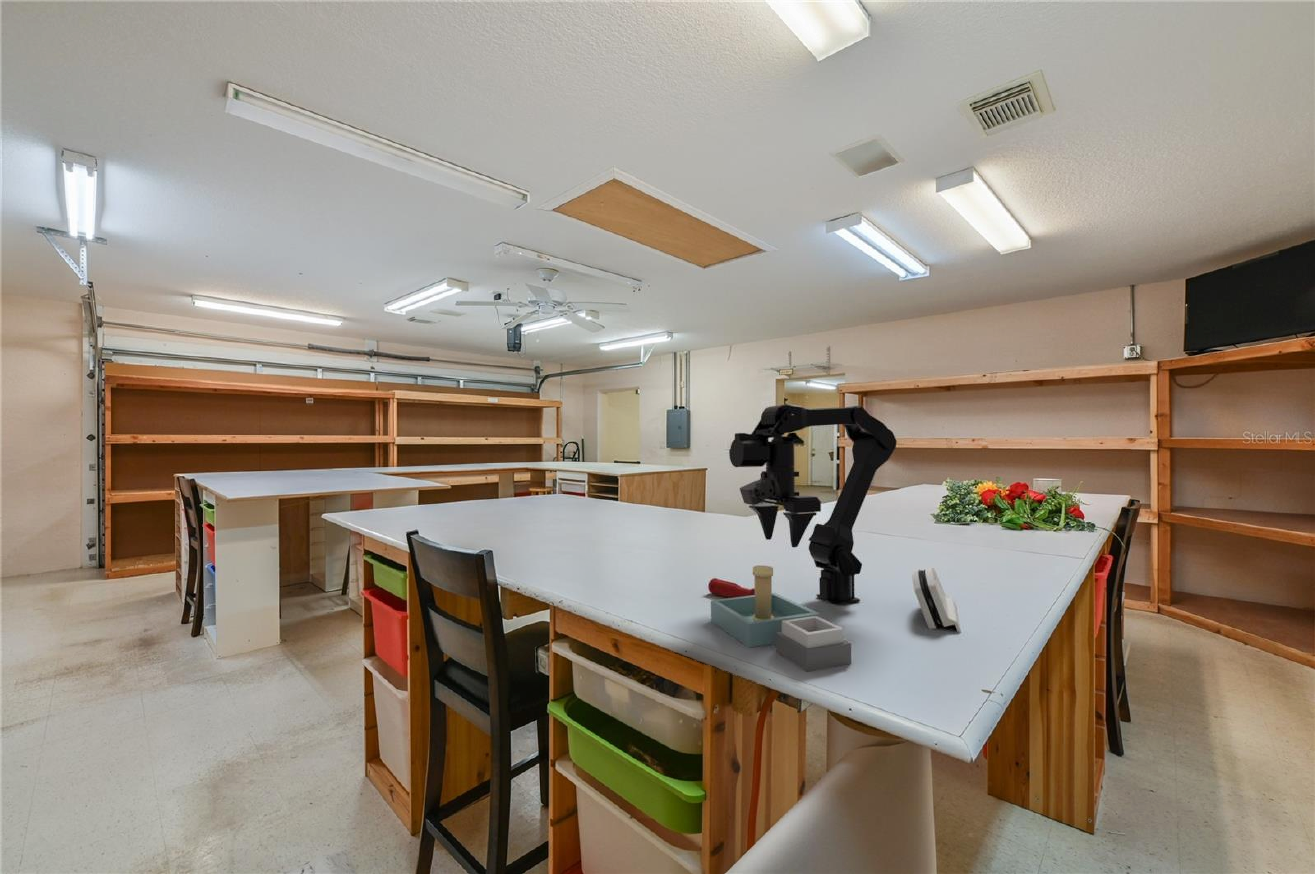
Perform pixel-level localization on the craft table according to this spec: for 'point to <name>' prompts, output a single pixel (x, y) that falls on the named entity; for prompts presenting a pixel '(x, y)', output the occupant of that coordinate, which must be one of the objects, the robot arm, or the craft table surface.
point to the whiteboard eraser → (934, 600)
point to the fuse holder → (813, 643)
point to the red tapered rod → (728, 589)
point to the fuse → (763, 592)
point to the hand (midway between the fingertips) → (780, 543)
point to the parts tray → (740, 624)
